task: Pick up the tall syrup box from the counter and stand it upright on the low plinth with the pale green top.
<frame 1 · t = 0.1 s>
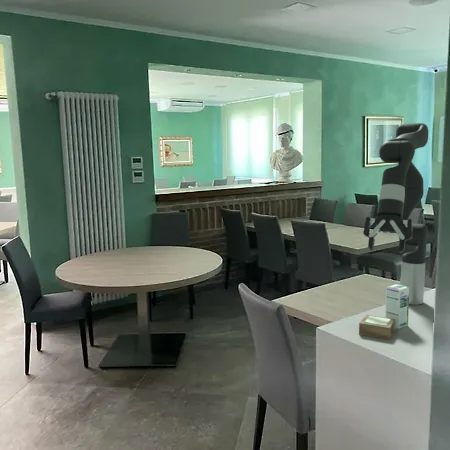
hand: (385, 251, 143), 31 cm above the counter, tool tilted 20°, fingers open, 8 cm apart
plinth: (377, 332, 162), on the counter
syrup box: (396, 326, 168), on the counter
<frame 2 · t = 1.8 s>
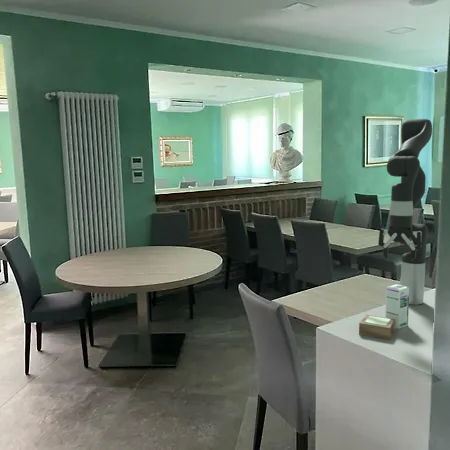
hand: (399, 259, 165), 24 cm above the counter, tool pointing down, fingers open, 8 cm apart
nothing on the counter moved.
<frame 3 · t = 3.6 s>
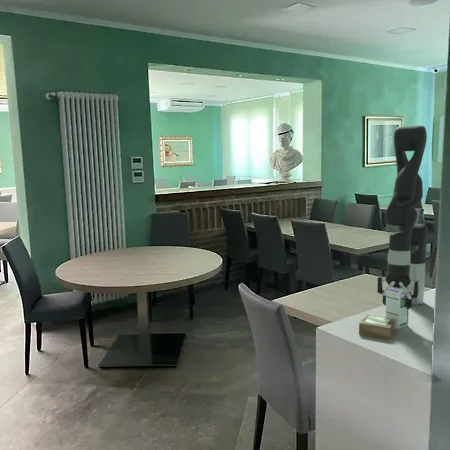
hand: (396, 306, 167), 7 cm above the counter, tool pointing down, fingers closed on syrup box, 7 cm apart
syrup box: (396, 325, 168), on the counter, touching gripper
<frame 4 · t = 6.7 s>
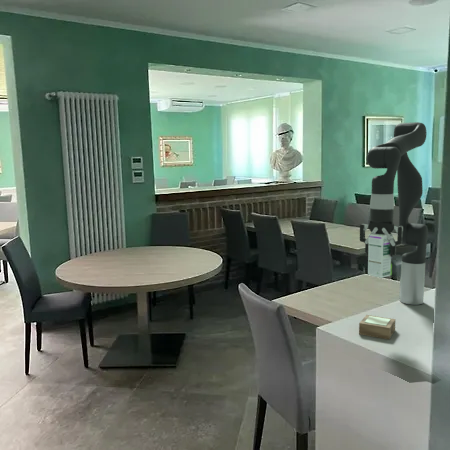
hand: (380, 255, 158), 27 cm above the counter, tool pointing down, fingers closed on syrup box, 7 cm apart
syrup box: (379, 275, 159), point 20 cm above the counter, touching gripper
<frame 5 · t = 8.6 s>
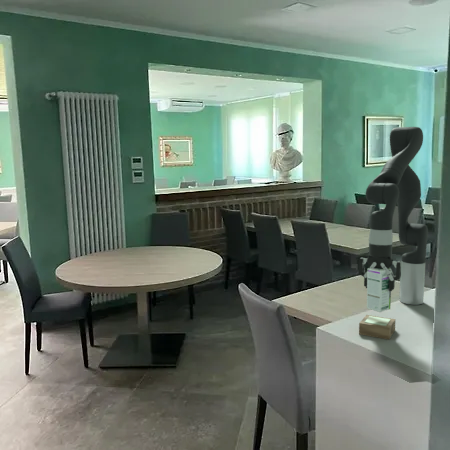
hand: (378, 289, 160), 15 cm above the counter, tool pointing down, fingers closed on syrup box, 7 cm apart
syrup box: (378, 309, 160), point 8 cm above the counter, touching gripper
when the fingers open (12 cm above the counter, at t = 10.1 s): syrup box stays where it is, resting on plinth.
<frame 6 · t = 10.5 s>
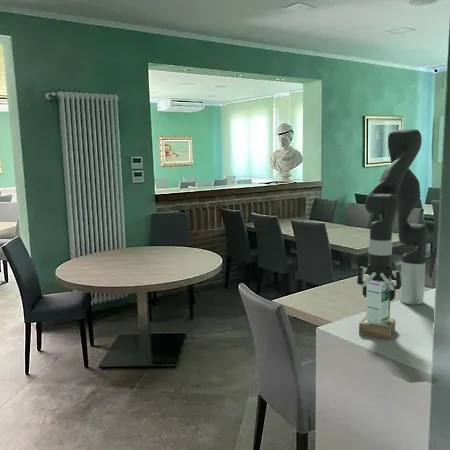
hand: (378, 298, 160), 12 cm above the counter, tool pointing down, fingers open, 8 cm apart
syrup box: (377, 320, 161), point 4 cm above the counter, touching plinth
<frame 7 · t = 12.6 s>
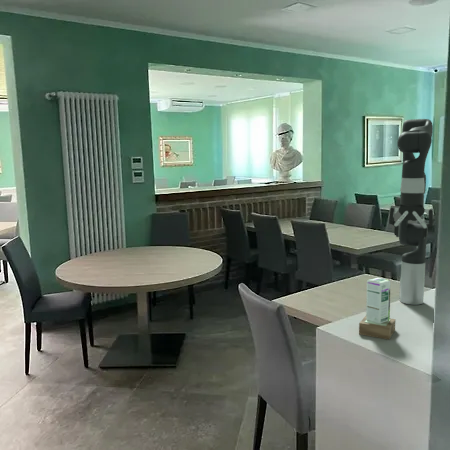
hand: (410, 237, 162), 33 cm above the counter, tool pointing down, fingers open, 8 cm apart
nothing on the counter moved.
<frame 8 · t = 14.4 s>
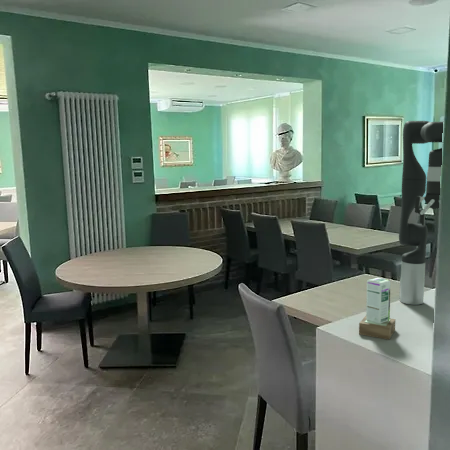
hand: (436, 225, 164), 36 cm above the counter, tool pointing down, fingers open, 8 cm apart
nothing on the counter moved.
at the end: syrup box inside the target area on the plinth (0.2 cm from its centre), point 4.0 cm above the plinth's base; syrup box tilted 0°; the gripper is holding nothing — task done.
